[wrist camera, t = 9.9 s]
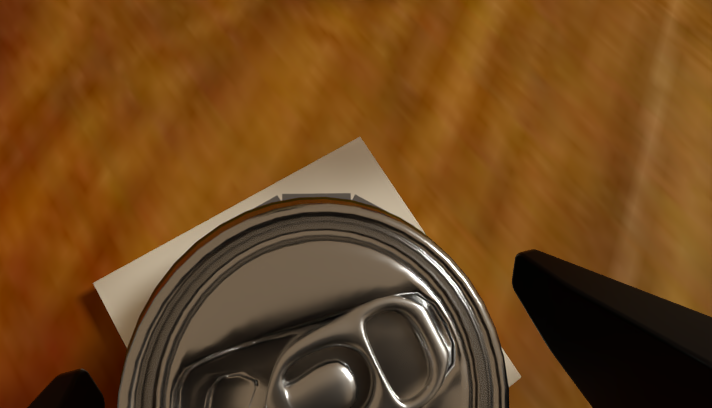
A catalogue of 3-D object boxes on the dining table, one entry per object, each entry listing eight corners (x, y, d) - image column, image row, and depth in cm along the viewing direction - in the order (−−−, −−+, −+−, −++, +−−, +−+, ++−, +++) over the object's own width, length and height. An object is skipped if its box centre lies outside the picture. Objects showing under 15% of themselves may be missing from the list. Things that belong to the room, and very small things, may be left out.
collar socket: (509, 373, 18) (587, 394, 13) (257, 577, 15) (238, 702, 10) (356, 145, 19) (376, 89, 15) (105, 285, 16) (25, 271, 12)
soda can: (216, 307, 16) (5, 282, 4) (335, 251, 17) (414, 114, 6) (270, 437, 15) (183, 830, 4) (392, 368, 16) (625, 492, 5)
